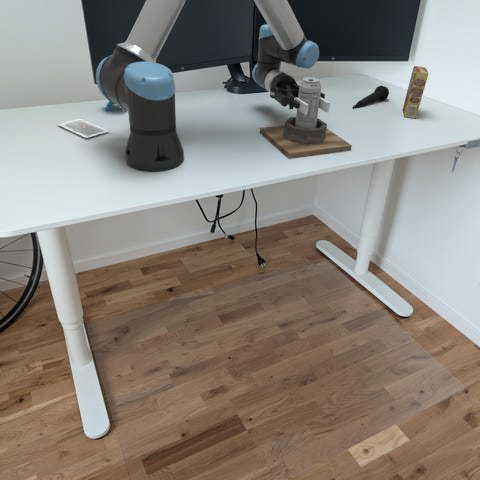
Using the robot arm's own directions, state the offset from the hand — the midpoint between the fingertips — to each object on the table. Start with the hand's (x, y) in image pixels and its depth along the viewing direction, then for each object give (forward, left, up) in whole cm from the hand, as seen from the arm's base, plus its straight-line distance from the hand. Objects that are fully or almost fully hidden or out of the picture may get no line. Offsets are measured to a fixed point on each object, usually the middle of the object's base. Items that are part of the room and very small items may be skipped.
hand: (317, 108), depth 126 cm
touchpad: (-17, +66, -12) cm, 69 cm away
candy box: (+45, -25, -12) cm, 52 cm away
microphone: (+51, -9, -12) cm, 53 cm away
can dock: (+4, +3, -11) cm, 12 cm away
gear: (+3, +68, -12) cm, 69 cm away
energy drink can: (+4, +3, -9) cm, 10 cm away
